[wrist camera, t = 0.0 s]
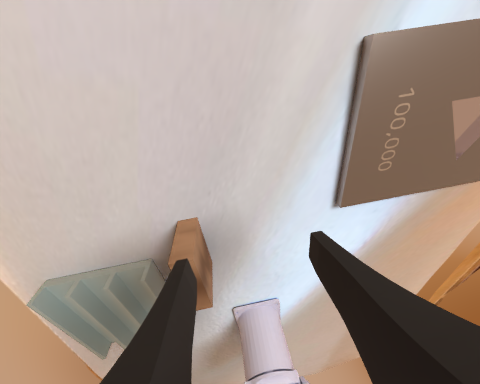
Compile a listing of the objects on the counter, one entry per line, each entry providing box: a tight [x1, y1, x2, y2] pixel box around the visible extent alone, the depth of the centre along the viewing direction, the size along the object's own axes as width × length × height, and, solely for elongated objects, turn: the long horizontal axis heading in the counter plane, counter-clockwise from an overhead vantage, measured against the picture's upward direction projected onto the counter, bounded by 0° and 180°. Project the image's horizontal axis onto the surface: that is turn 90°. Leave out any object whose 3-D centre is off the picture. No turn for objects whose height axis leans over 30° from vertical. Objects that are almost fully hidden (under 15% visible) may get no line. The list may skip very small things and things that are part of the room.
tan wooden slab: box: [168, 217, 213, 311], centre depth 21 cm, size 8×2×6 cm, turn 8°
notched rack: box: [27, 259, 165, 359], centre depth 26 cm, size 16×13×3 cm
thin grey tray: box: [336, 19, 480, 208], centre depth 19 cm, size 16×2×20 cm
